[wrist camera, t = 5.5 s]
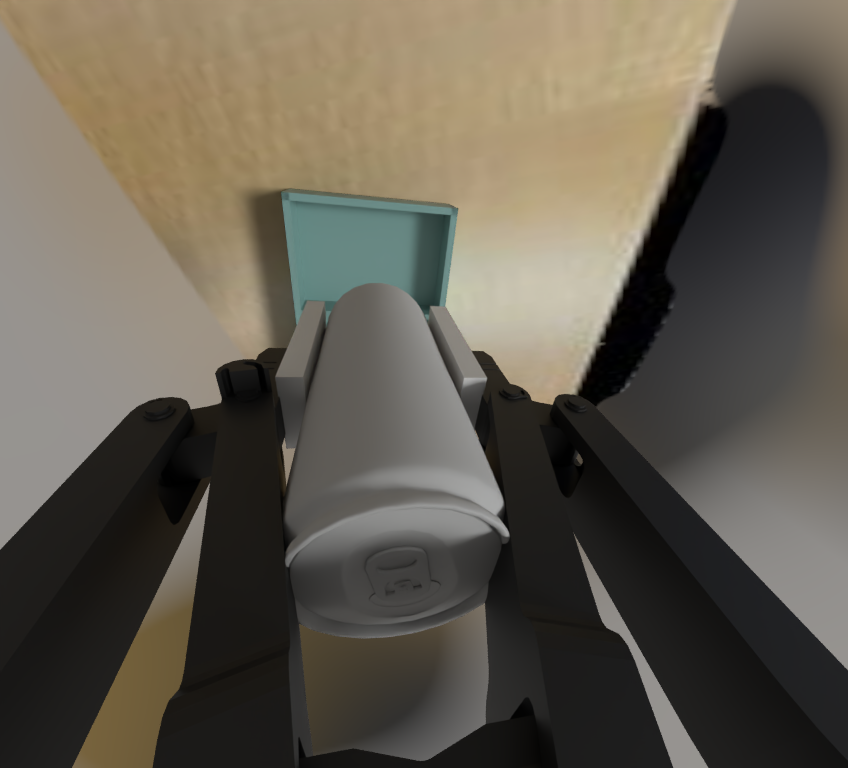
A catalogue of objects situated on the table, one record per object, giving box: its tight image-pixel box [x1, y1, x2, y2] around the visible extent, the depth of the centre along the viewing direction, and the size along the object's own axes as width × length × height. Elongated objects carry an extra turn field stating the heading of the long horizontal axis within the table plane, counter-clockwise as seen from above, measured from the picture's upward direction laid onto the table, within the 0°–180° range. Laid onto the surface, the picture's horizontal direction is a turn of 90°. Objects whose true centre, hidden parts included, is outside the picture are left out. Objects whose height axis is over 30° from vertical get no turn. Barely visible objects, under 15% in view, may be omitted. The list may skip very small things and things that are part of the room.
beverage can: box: [282, 283, 510, 638], centre depth 11 cm, size 5×5×12 cm
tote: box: [281, 189, 458, 327], centre depth 31 cm, size 18×13×4 cm
